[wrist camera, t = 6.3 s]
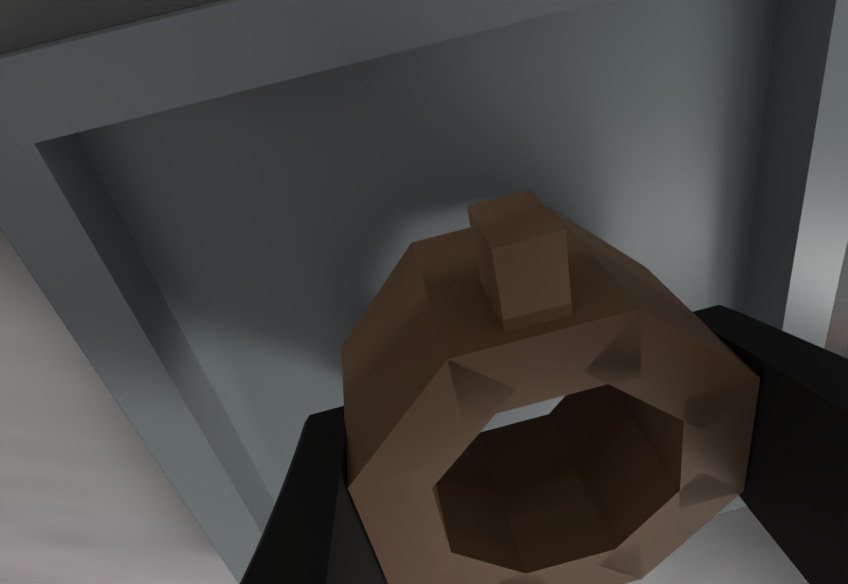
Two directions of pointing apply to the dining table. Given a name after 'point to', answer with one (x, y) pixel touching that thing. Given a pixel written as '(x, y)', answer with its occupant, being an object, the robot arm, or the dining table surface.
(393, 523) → the ring
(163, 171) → the tray
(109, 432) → the dining table surface
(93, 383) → the dining table surface
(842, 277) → the grey round piece
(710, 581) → the dining table surface
